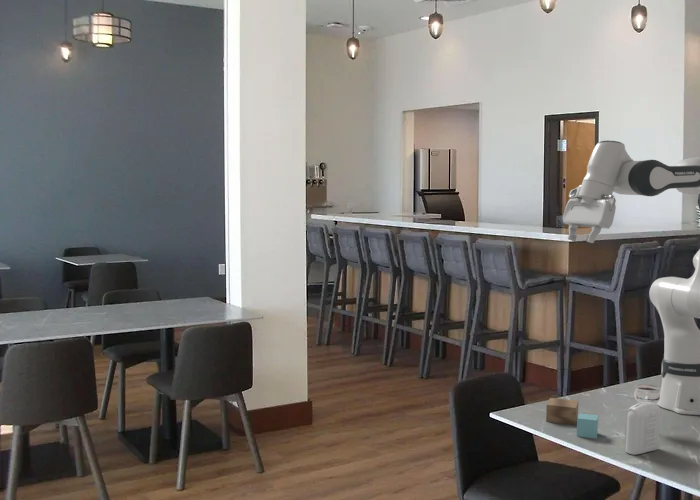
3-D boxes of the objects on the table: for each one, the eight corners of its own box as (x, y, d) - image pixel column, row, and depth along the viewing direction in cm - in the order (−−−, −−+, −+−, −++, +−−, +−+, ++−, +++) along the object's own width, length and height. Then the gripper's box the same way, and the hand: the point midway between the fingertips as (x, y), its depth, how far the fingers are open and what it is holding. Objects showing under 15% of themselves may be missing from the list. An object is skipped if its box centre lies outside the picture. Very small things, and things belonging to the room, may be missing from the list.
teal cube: (597, 433, 215) (598, 415, 214) (596, 438, 210) (596, 420, 210) (578, 431, 217) (579, 413, 216) (576, 436, 212) (577, 418, 211)
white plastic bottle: (647, 444, 205) (649, 398, 204) (661, 449, 202) (663, 401, 201) (621, 451, 200) (623, 403, 199) (636, 456, 196) (637, 407, 195)
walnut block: (577, 417, 230) (578, 400, 229) (575, 425, 222) (575, 407, 222) (549, 414, 233) (550, 397, 232) (546, 422, 225) (546, 404, 225)
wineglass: (627, 427, 219) (628, 385, 218) (646, 425, 222) (648, 383, 221) (644, 435, 213) (645, 391, 212) (664, 432, 215) (666, 389, 214)
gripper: (626, 198, 216) (610, 247, 216) (584, 198, 235) (570, 242, 235) (607, 191, 214) (591, 240, 214) (566, 191, 234) (552, 236, 233)
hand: (580, 241), depth 225 cm, fingers open, 8 cm apart
